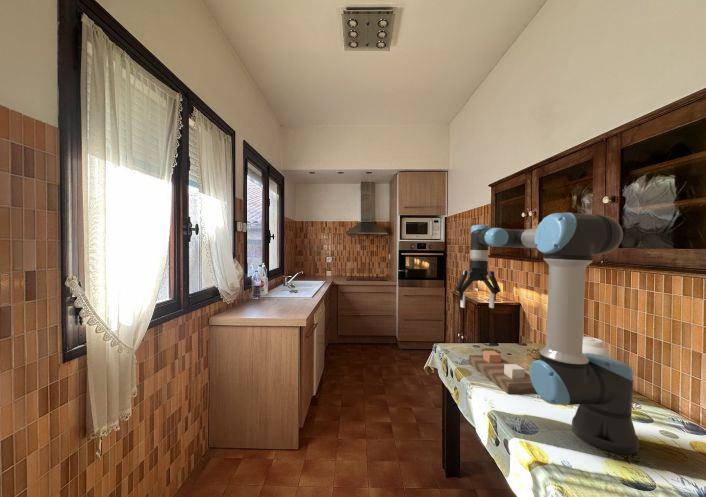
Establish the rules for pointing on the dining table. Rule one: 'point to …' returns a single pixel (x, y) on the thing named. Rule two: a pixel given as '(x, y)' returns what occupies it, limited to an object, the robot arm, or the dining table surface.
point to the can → (594, 347)
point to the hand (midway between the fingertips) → (477, 307)
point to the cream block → (514, 371)
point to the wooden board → (502, 376)
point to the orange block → (491, 356)
